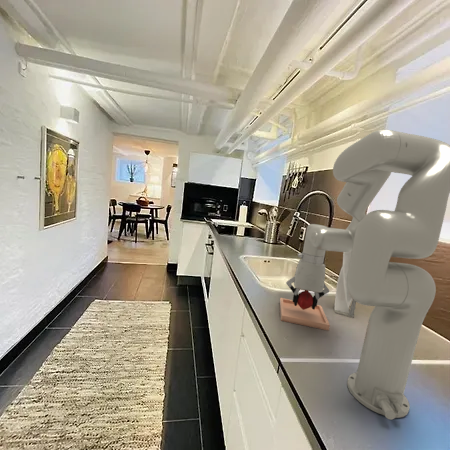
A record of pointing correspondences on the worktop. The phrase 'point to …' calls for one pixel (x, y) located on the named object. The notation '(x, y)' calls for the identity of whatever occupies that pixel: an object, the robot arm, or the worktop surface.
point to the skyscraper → (344, 290)
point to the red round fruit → (305, 299)
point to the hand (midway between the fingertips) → (304, 305)
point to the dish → (303, 315)
